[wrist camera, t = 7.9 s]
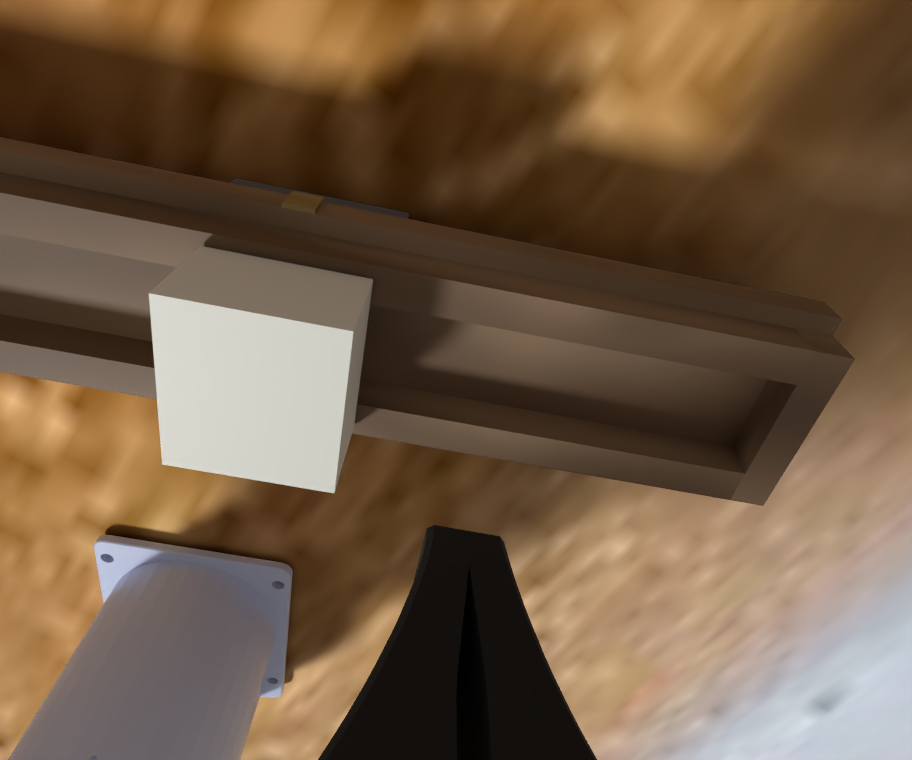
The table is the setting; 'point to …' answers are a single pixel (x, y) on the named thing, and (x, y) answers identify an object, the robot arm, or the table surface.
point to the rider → (258, 367)
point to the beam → (431, 325)
